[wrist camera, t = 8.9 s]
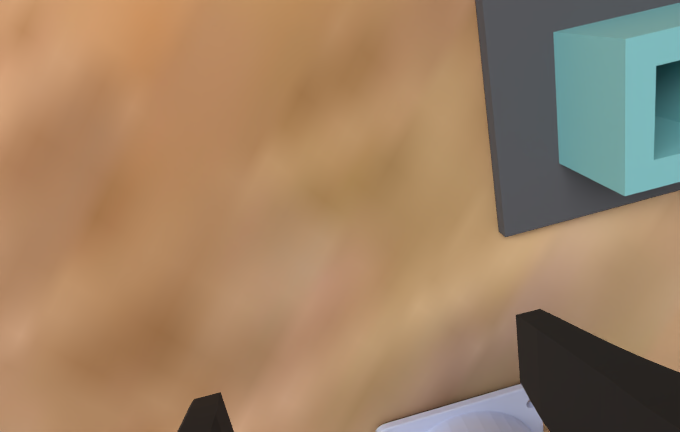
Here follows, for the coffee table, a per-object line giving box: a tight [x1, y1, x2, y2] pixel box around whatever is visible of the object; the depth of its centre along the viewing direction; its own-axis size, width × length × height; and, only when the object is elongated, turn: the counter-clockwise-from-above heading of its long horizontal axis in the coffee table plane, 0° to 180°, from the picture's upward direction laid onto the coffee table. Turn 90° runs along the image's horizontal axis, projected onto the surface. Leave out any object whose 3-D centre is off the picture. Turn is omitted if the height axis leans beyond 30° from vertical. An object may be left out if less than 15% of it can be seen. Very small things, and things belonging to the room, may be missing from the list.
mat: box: [475, 0, 680, 237], centre depth 21 cm, size 10×10×1 cm
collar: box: [553, 3, 680, 196], centre depth 19 cm, size 5×5×4 cm
